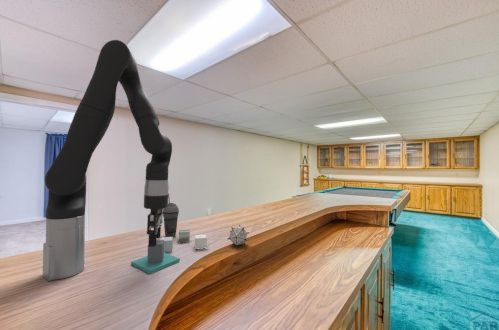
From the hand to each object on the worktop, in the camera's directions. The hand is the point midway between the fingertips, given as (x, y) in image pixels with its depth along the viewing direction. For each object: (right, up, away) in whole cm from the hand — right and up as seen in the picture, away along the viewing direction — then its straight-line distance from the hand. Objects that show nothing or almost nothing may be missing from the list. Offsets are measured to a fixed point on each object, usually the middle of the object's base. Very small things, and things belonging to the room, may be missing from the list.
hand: (154, 241), depth 74 cm
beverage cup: (-5, -8, +29) cm, 30 cm away
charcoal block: (0, -6, +1) cm, 6 cm away
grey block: (-1, -8, +12) cm, 14 cm away
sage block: (+3, -8, +24) cm, 25 cm away
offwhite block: (+12, -8, +16) cm, 21 cm away
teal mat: (0, -7, +1) cm, 7 cm away
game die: (+27, -8, +19) cm, 34 cm away
